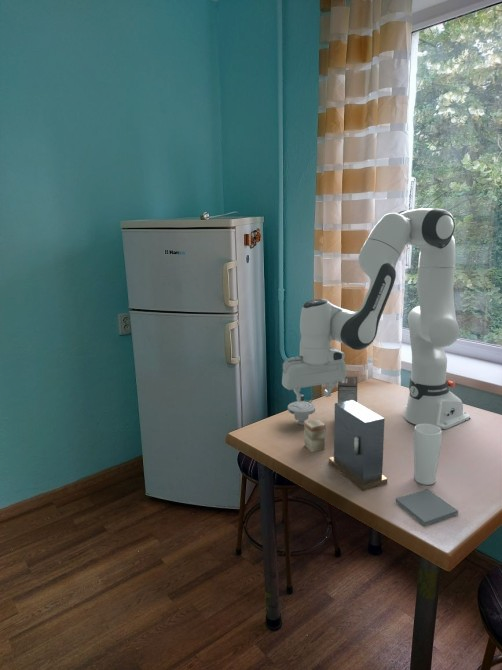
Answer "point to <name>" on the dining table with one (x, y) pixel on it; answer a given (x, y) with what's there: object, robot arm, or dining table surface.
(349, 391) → the coffee box
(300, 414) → the showerhead
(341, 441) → the cabinet
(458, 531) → the dining table surface
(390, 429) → the dining table surface
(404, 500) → the mat
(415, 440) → the drinking glass
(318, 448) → the block
